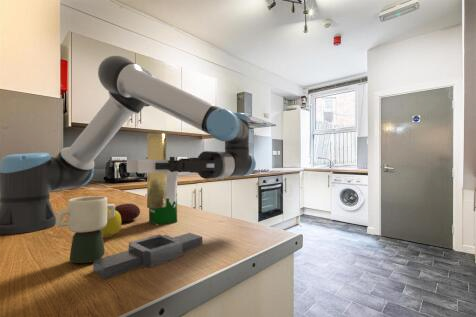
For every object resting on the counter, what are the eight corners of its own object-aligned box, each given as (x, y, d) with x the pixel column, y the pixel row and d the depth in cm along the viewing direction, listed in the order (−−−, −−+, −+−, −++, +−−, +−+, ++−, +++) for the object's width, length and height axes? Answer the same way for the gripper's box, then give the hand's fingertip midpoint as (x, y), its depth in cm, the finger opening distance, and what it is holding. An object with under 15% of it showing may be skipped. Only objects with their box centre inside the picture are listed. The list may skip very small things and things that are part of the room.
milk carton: (180, 221, 82) (181, 164, 82) (155, 226, 76) (155, 164, 76) (169, 217, 88) (170, 163, 89) (145, 221, 82) (145, 163, 83)
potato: (105, 223, 80) (106, 204, 80) (133, 217, 88) (133, 200, 88) (118, 226, 76) (118, 207, 76) (145, 219, 85) (145, 202, 85)
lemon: (111, 241, 62) (112, 210, 62) (93, 239, 63) (93, 209, 63) (125, 235, 67) (126, 206, 67) (108, 233, 68) (109, 205, 68)
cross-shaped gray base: (89, 268, 46) (89, 252, 46) (184, 238, 64) (184, 227, 64) (108, 283, 40) (109, 265, 40) (207, 246, 58) (207, 234, 58)
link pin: (143, 206, 52) (144, 134, 52) (159, 204, 55) (160, 135, 55) (153, 209, 49) (153, 132, 50) (169, 206, 53) (170, 134, 53)
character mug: (107, 248, 56) (108, 194, 57) (121, 256, 52) (122, 197, 52) (50, 263, 48) (51, 199, 48) (60, 274, 43) (61, 203, 44)
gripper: (238, 179, 61) (155, 187, 43) (194, 177, 72) (114, 182, 54) (238, 150, 61) (156, 146, 43) (194, 152, 72) (114, 149, 54)
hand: (133, 166), depth 48 cm, fingers closed on link pin, 4 cm apart
